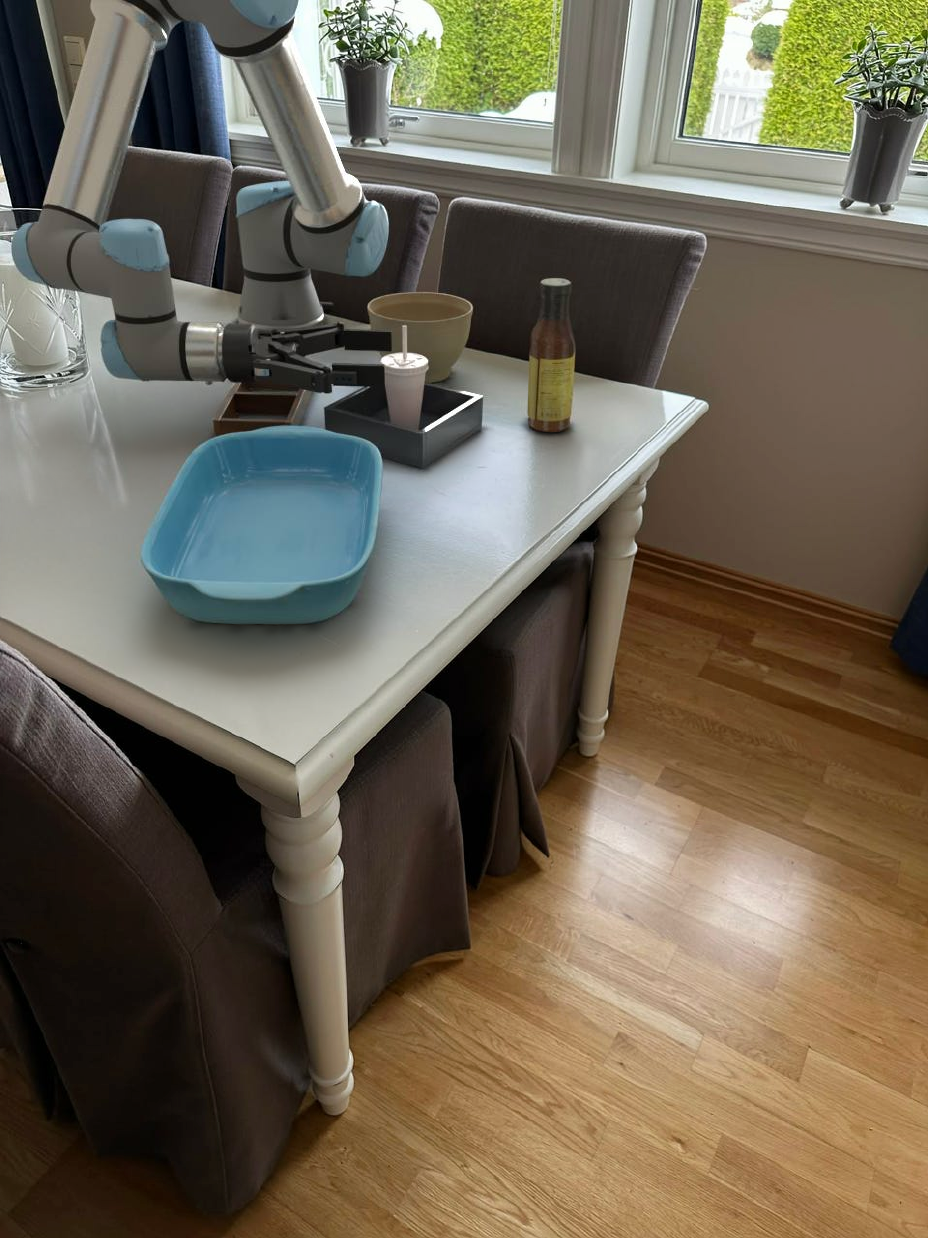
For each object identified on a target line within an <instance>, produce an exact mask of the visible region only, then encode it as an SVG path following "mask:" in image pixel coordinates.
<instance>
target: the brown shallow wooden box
mask: <svg viewBox="0 0 928 1238" xmlns="http://www.w3.org/2000/svg"><path fill="white" fill-rule="evenodd" d="M312 384H313V383H312ZM250 390H268V391H269V390H271V391H272V390H273V391H274V390H275V391H297V393H295V392H294V393H293V392H292V393H291V392H259V391H258V392H256V391H250ZM313 393H314V392H312V391H307V390H303V389H299V388H294V387H290V386H285V385H281V384H276V383H272V382H259V381H257V382H255V383H233V385H232V387H231V389H230V391H229V392H228V394H227V396H226V398H225V399H224V400H223V402H222V404H221V406H220V407H219V409H218V411H217V412H216V415H215V416H214V417H213V419H212V424H213V431H214V437H218V436H221V435H225V434H230V433H237V432H247V431H253V430H257V429H261V428H266V427H273V426H301V425H302V421H303V419H304V416H305V413H306V411H307V408H308V406H309V403H310V401H311V398H312V396H313ZM237 414H238V415H274V416H278V415H279V416H287V417H286V419H260V418H258V419H257V418H235V417H236V416H237Z"/></svg>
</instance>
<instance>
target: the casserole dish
mask: <svg viewBox="0 0 928 1238" xmlns="http://www.w3.org/2000/svg"><path fill="white" fill-rule="evenodd" d="M382 458H383V457H381V454H380V452H379V450H378V448H377V447H376V446H375V445H374V444H372V443H371V442H369V441H367V440H365V439H362V438H359V437H355V436H350V435H345V434H339V433H334V432H331V431H328V430H325V428H320V427H316V426H310V425H309V426H308V425H300V426H273V427H266V428H261V429H257V430H253V431H247V432H237V433H230V434H225V435H221V436H218V437H215V436H214V437H212V438H209V439H207V440H206V441H204V442H202V443H201V444H200V445H198V446H197V447H195V449H194V450H193V451H192V452H191V453H190V454H189V456H187V459H186V460H185V462H184V463H183V464H182V466H181V468H180V470H179V472H177V475H176V477H175V479H174V481H173V483H172V485H171V487H170V488H169V490H168V492H167V493H166V496H165V498H164V499H163V501H162V503H161V505H160V507H159V509H158V510H157V513H156V514H155V516H154V518H153V520H152V521H151V523H150V525H149V527H148V530H147V532H146V534H145V536H144V539H143V540H142V544H141V548H140V553H139V555H140V562H141V564H142V567H143V568H144V570H145V571H146V572H147V574H148V575H149V576H150V578H151V579H152V580H153V582H154V584H155V586H156V587H157V589H158V591H159V592H160V593H161V595H162V597H163V598H164V599H165V601H167V603H168V604H169V605H170V607H172V608H173V609H174V610H175V611H176V612H177V613H179V614H181V615H182V616H185V617H187V618H189V619H192V620H194V621H195V620H196V621H197V622H198V621H199V622H202V623H211V624H226V625H228V624H229V625H257V624H259V625H305V624H313V623H318V622H321V621H325V620H328V619H330V618H333V617H334V616H336V615H339V614H341V612H343V611H344V610H345V609H346V608H347V607H348V606H349V605H350V604H351V603H352V602H353V601H354V599H355V598H356V596H357V594H358V592H359V590H360V587H361V586H362V583H363V581H364V578H365V575H366V572H367V569H368V566H369V562H370V559H371V557H372V554H373V552H374V550H375V544H376V540H377V536H378V528H379V518H380V508H381V496H382V486H383V476H384V475H383V473H384V471H383V470H384V467H383V465H384V463H383V459H382Z"/></svg>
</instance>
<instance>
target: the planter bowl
mask: <svg viewBox="0 0 928 1238" xmlns="http://www.w3.org/2000/svg"><path fill="white" fill-rule="evenodd" d="M473 310H474V306H473V304H472V303H471V302H470V301H468V300H467V299H465V298H462V297H460V296H456V295H452V294H446V293H440V292H431V291H429V292H428V291H416V292H415V291H412V292H411V291H410V292H399V293H391V294H385V295H382V296H379V297H378V296H377V297H376V298H373V299H372V300H371V301H369V302H368V303H367V314H368V316H369V325H370V330H392V351H378V353H379V355H380V356H381V359H382V358H383V357H384V356H386V355H389V354H394V353H403V332H402V326H403V325H406V326H407V353H414V354H419V355H422V356H424V357H425V358H427V360H428V370H427V371H426V373H425V382H428V383H432V384H434V383H437V382H441V381H444V380H447V378H449V377H450V376H451V373H452V368H453V367H454V366H455V364H456V363H457V361H458V359H459V358H460V357H461V354H462V353H463V351H464V349H465V348H466V344H467V342H468V339H469V334H470V329H471V321H472V320H471V319H472V317H473V316H472V315H473Z"/></svg>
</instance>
